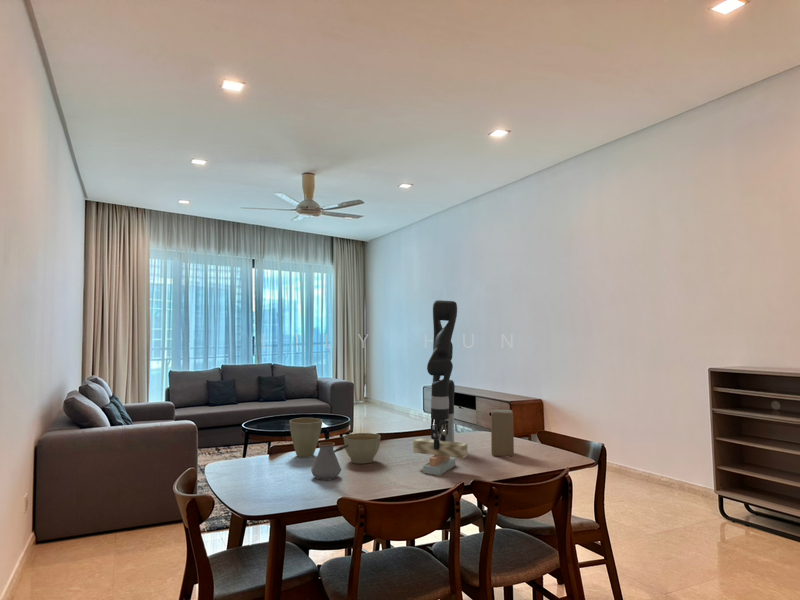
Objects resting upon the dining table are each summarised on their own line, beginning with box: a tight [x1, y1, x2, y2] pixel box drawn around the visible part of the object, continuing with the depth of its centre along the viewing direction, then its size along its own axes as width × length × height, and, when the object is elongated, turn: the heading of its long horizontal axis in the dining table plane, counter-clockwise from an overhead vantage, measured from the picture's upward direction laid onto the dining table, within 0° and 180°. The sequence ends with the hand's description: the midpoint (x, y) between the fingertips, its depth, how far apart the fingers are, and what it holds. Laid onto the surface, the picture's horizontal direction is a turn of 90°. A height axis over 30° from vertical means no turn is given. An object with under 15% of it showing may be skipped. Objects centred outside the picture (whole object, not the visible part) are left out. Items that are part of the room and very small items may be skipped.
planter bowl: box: [343, 432, 381, 465], centre depth 221 cm, size 16×16×11 cm
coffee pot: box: [311, 441, 351, 481], centre depth 192 cm, size 21×12×15 cm, turn 38°
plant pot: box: [289, 417, 324, 458], centre depth 231 cm, size 15×15×16 cm
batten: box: [412, 437, 468, 459], centre depth 209 cm, size 22×5×5 cm, turn 63°
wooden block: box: [490, 408, 515, 458], centre depth 236 cm, size 10×10×20 cm
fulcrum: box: [422, 455, 456, 476], centre depth 209 cm, size 18×7×6 cm, turn 154°
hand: (439, 447), depth 209 cm, fingers open, 6 cm apart
